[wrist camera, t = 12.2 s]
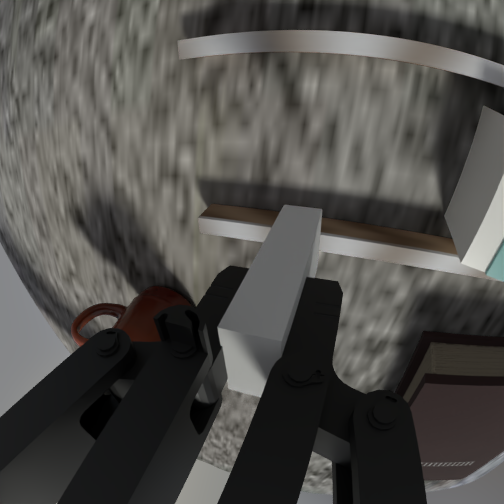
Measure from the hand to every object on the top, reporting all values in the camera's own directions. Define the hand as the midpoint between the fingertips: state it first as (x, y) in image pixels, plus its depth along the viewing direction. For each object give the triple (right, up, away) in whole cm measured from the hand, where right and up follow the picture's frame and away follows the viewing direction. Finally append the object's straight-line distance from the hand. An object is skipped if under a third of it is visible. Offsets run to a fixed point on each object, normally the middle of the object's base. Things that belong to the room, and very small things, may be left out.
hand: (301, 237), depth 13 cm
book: (+23, -20, +16) cm, 35 cm away
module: (+14, +4, +2) cm, 15 cm away
